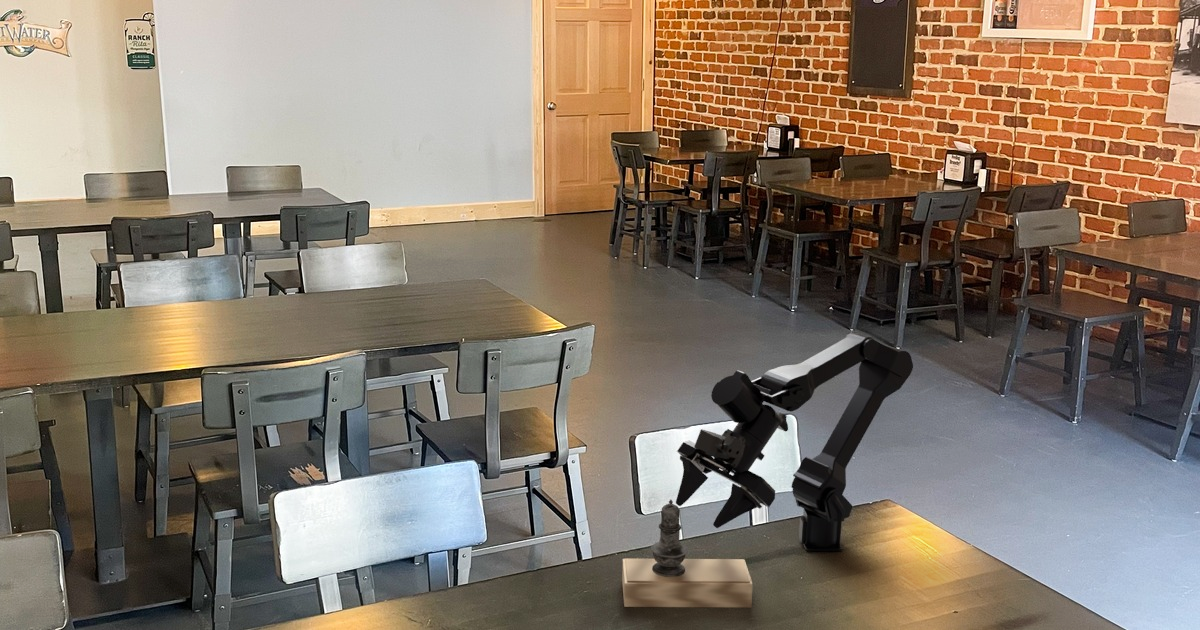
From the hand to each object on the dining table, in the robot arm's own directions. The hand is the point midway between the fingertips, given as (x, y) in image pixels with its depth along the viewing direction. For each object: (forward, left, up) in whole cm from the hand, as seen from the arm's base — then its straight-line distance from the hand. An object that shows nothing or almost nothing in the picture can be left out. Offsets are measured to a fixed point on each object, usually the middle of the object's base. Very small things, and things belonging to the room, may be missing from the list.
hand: (695, 515), depth 173 cm
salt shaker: (+4, +3, -8) cm, 10 cm away
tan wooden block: (+2, +4, -12) cm, 13 cm away
